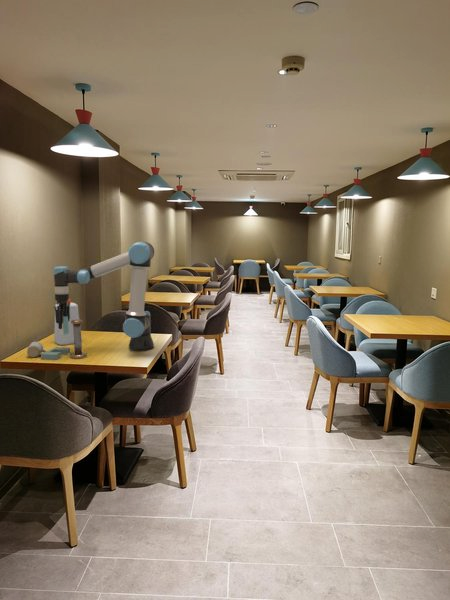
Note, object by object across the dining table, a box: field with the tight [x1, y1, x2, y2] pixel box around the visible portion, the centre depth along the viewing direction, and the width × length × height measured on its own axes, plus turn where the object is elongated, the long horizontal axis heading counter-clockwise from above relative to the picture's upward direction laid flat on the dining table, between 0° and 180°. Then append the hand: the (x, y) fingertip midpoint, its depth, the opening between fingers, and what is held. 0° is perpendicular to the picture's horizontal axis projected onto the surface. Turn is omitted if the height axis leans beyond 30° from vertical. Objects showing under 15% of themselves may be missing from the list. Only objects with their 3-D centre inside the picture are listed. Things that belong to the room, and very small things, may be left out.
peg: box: [58, 316, 69, 335], centre depth 267 cm, size 4×4×10 cm
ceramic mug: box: [26, 341, 48, 358], centre depth 263 cm, size 11×8×8 cm
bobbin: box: [69, 319, 88, 360], centre depth 260 cm, size 9×9×21 cm
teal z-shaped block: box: [40, 346, 72, 361], centre depth 264 cm, size 9×16×3 cm, turn 171°
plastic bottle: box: [53, 298, 83, 346], centre depth 294 cm, size 15×15×28 cm
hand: (63, 333), depth 268 cm, fingers closed on peg, 4 cm apart
